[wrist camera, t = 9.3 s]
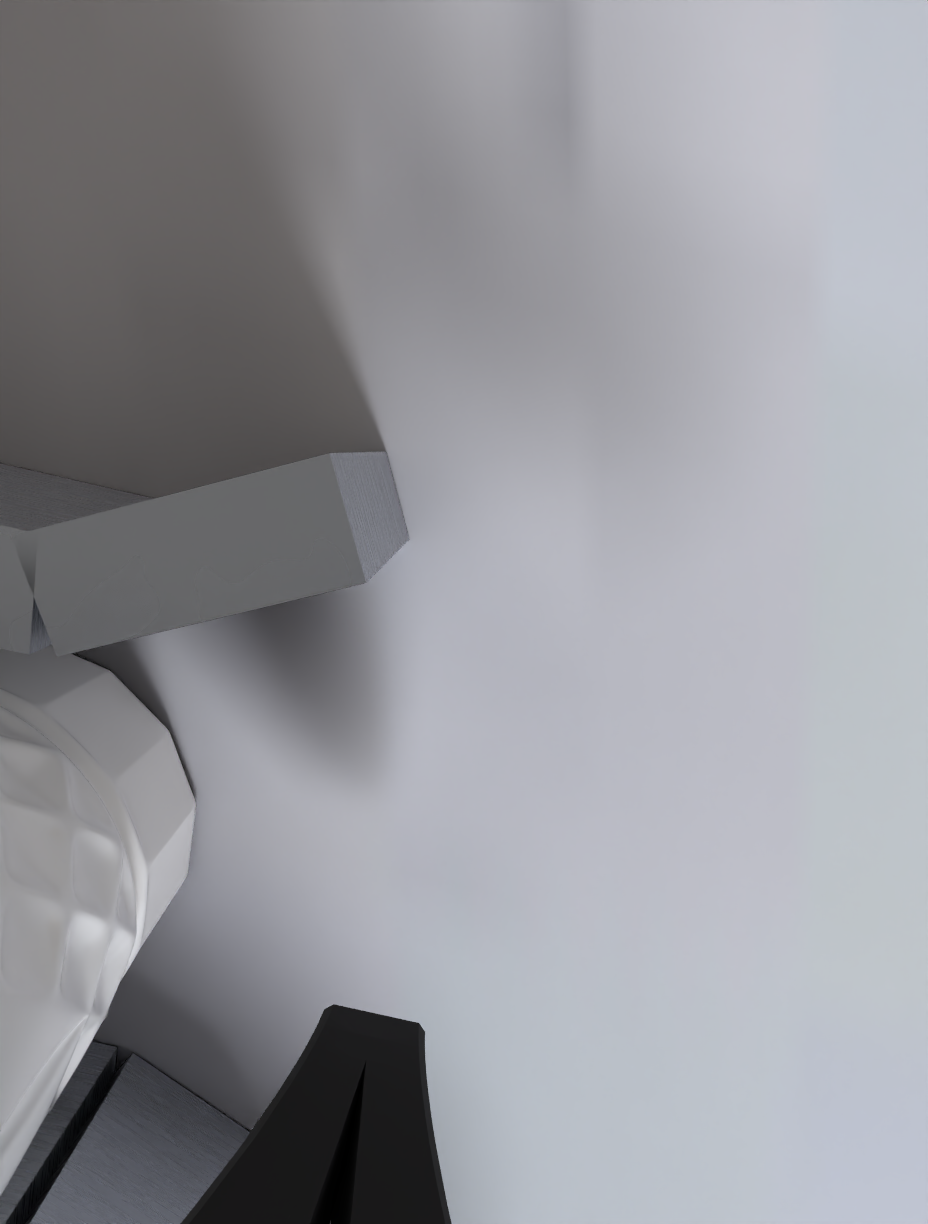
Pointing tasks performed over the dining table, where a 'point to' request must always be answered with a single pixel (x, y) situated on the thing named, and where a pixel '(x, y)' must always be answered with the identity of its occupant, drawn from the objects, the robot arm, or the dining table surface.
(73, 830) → the white cup
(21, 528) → the tray
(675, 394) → the dining table surface
